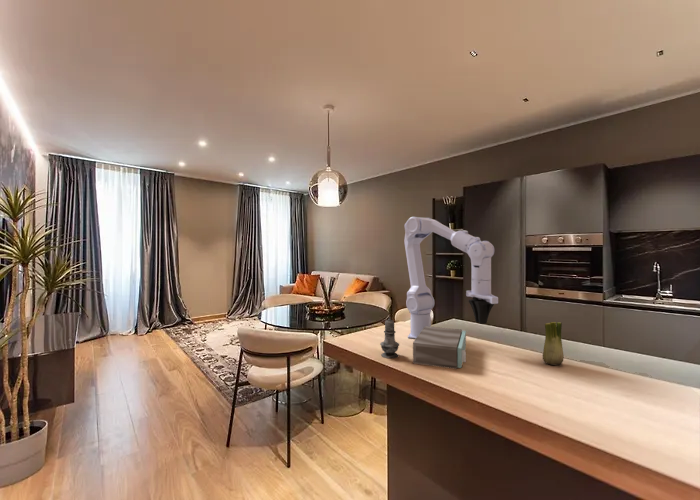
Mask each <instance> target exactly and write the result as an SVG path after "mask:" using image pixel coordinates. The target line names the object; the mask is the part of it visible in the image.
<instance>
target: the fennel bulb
mask: <svg viewBox="0 0 700 500" xmlns="http://www.w3.org/2000/svg"><path fill="white" fill-rule="evenodd" d="M562 323H563V322H560V321H557V322H556V321H553V322H552V321H550V322H547V323H544V330H545V331H544V333H545V337H544V338H545V340H544V343H543V352H542V361H543V362H544V363H546V364H548V365H550V366H551V365H552V366H557V365H558V366H559V365H562V364H563V362H564V360H565V357H564V355H565V354H564V351H563V350H564V349H563V348H564V347H563V340H562V327H563V326H562V325H563V324H562Z"/></svg>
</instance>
